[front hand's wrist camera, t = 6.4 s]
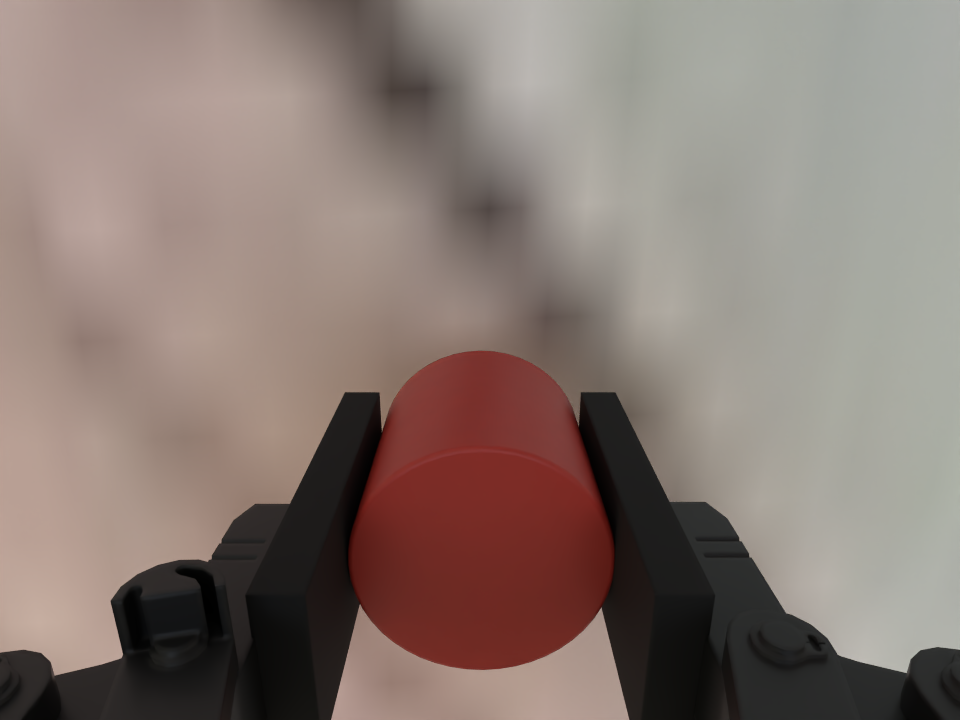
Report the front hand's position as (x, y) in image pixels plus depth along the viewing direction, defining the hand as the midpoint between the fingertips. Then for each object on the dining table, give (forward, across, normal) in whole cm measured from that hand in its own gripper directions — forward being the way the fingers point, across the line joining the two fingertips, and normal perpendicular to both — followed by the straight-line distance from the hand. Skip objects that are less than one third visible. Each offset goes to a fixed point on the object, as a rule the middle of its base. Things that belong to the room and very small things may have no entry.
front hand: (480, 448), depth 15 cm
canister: (0, 0, 0) cm, 0 cm away
